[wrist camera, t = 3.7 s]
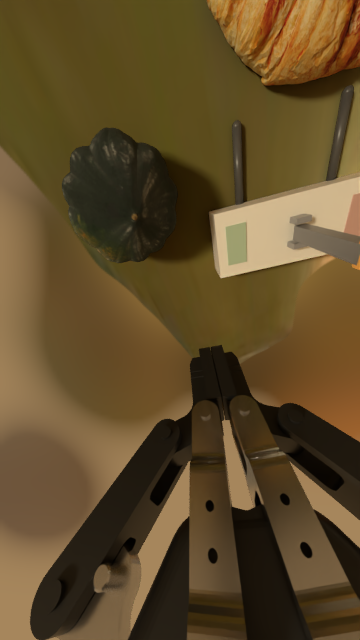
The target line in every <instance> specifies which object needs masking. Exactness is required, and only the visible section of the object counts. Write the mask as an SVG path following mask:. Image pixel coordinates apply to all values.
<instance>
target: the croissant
mask: <svg viewBox="0 0 360 640" xmlns="http://www.w3.org/2000/svg"><path fill="white" fill-rule="evenodd" d="M207 3H208V6H209V9H210V11H212V14H213V16H214V19H215V20H217V22H218V24H219V25H220V27H221V29H222V31H223V33H224V35H225V38H226V40H227V42H228V43H229V45H230V46H231V47H233V49H234V50H235V52H236V54H237V56H239V57H240V59H241V60H242V62H243V63H244V64H245V65H246V66H248V67H250V68H251V69H252V70H253V71H254V72H256V73H257V74H259V75H260V76H262V80H261V81H262V83H263V84H264V85H266V86H269V85H284V84H300V83H304V82H307V81H311V80H316V79H318V78H321V77H327V76H330V75H332V74H335V73H337V72H339V71H341V70H343V69H353V68H356V67H359V66H360V0H207Z"/></svg>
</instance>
